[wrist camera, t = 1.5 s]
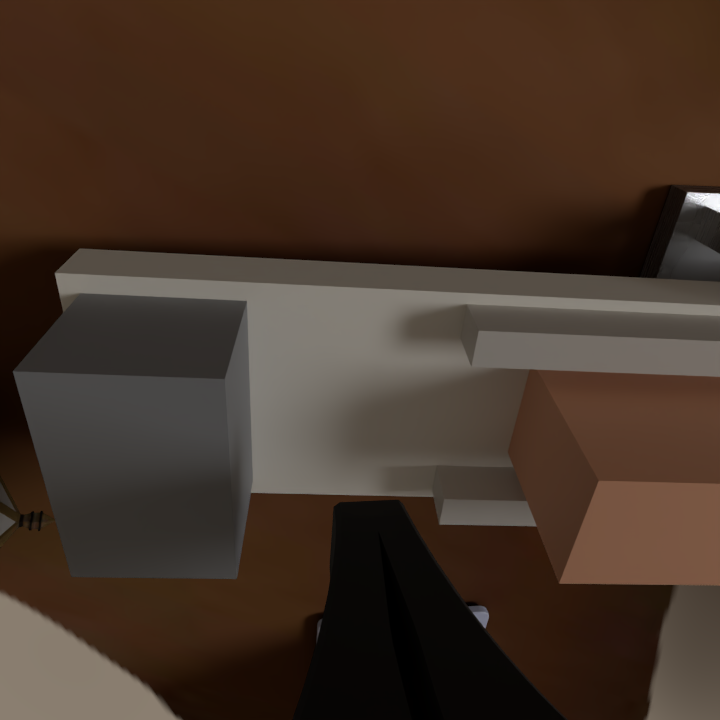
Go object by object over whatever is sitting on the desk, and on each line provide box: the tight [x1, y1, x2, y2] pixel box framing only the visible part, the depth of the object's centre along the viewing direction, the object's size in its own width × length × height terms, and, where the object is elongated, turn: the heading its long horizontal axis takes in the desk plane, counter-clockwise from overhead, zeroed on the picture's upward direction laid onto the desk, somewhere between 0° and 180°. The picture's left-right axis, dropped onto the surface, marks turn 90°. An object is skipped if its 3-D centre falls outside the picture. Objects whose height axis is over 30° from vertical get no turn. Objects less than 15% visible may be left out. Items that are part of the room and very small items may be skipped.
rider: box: [508, 369, 720, 585], centre depth 15 cm, size 6×3×5 cm, turn 86°
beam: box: [13, 249, 720, 579], centre depth 16 cm, size 33×8×5 cm, turn 86°
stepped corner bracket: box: [639, 185, 720, 282], centre depth 18 cm, size 31×11×5 cm, turn 86°
